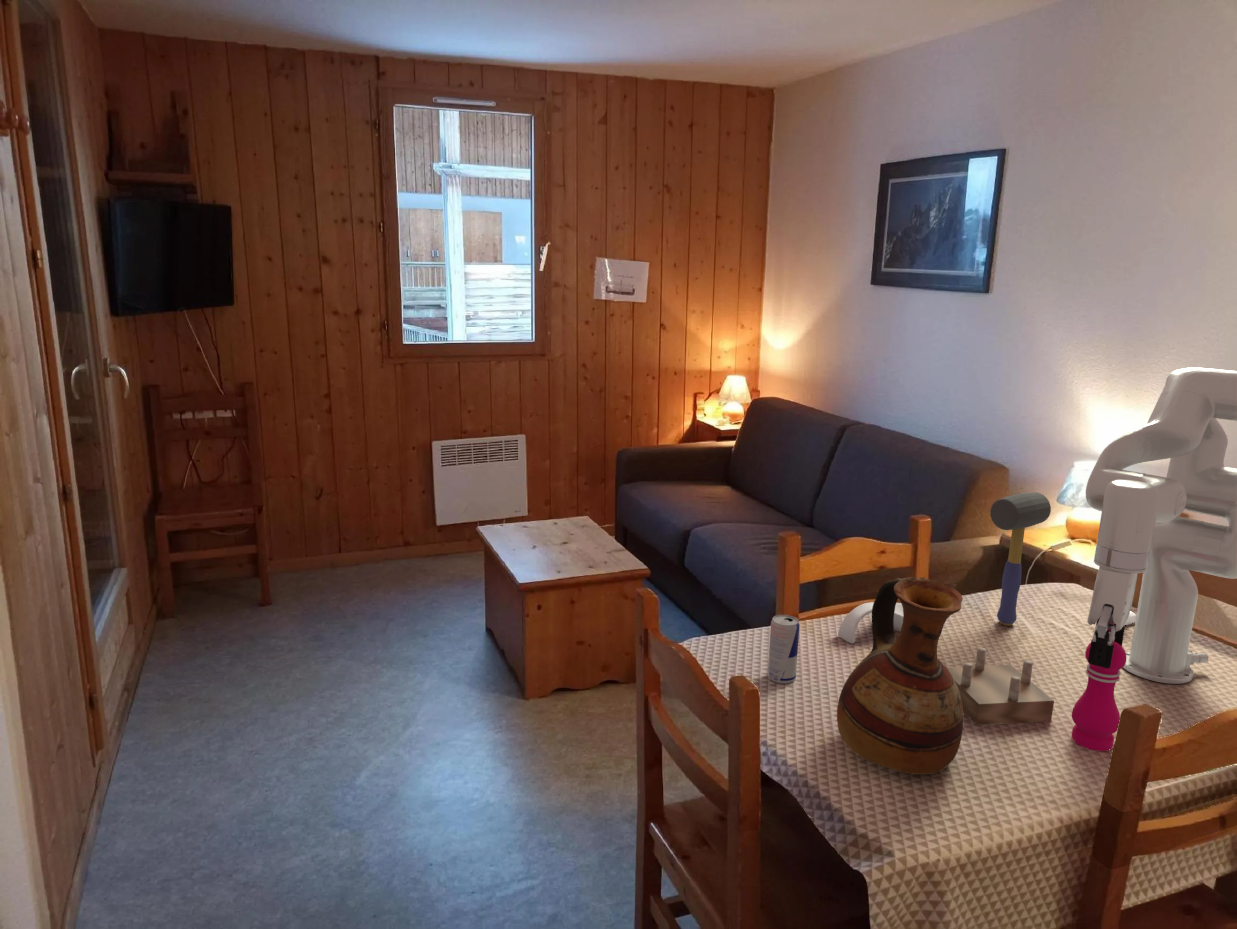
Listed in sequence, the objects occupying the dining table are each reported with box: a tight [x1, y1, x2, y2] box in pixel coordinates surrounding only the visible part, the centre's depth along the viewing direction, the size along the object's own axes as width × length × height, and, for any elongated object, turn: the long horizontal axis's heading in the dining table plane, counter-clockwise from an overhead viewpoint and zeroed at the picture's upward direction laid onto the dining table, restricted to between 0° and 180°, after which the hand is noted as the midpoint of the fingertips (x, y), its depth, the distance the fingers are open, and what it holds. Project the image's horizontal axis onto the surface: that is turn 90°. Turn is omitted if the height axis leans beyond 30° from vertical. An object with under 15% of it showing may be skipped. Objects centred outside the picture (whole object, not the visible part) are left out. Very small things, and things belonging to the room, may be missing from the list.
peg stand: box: [945, 646, 1055, 726], centre depth 163 cm, size 14×14×8 cm
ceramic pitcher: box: [836, 576, 965, 775], centre depth 144 cm, size 20×20×30 cm
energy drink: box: [767, 614, 800, 685], centre depth 170 cm, size 5×5×12 cm
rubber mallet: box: [989, 491, 1052, 627], centre depth 196 cm, size 12×8×30 cm, turn 121°
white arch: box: [837, 601, 903, 644], centre depth 193 cm, size 24×12×7 cm, turn 117°
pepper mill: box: [1071, 632, 1127, 752], centre depth 149 cm, size 7×7×20 cm
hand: (1104, 655), depth 147 cm, fingers open, 9 cm apart
